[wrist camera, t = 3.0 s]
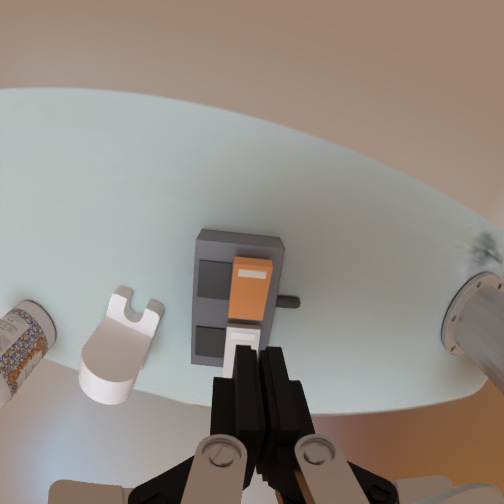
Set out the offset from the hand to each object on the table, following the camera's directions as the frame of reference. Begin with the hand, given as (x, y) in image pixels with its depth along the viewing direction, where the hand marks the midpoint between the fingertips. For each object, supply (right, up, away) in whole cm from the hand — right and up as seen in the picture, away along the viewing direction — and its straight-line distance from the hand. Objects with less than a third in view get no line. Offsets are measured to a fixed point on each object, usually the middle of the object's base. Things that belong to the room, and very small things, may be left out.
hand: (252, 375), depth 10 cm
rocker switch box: (0, 0, +18) cm, 18 cm away
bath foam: (-28, -4, +18) cm, 33 cm away
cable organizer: (-13, -4, +19) cm, 23 cm away
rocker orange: (0, +2, +12) cm, 12 cm away
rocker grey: (-1, -4, +14) cm, 14 cm away
